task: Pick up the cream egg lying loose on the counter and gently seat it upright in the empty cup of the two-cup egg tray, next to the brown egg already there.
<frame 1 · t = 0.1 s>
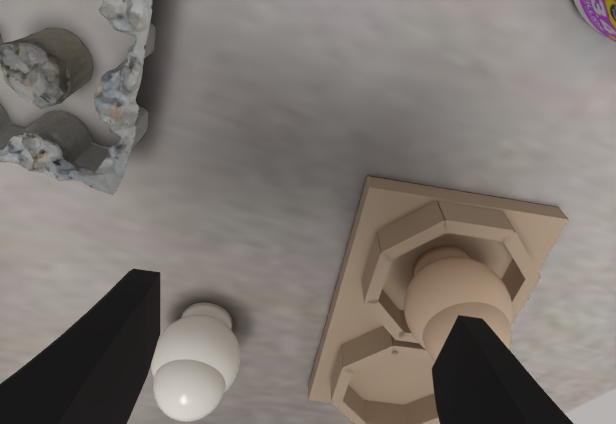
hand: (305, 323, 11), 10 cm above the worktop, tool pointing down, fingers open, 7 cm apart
egg carton: (72, 12, 17), on the worktop
egg tray: (414, 310, 25), on the worktop
cream egg: (207, 321, 25), on the worktop
brown egg: (442, 268, 22), point 1 cm above the worktop, touching egg tray
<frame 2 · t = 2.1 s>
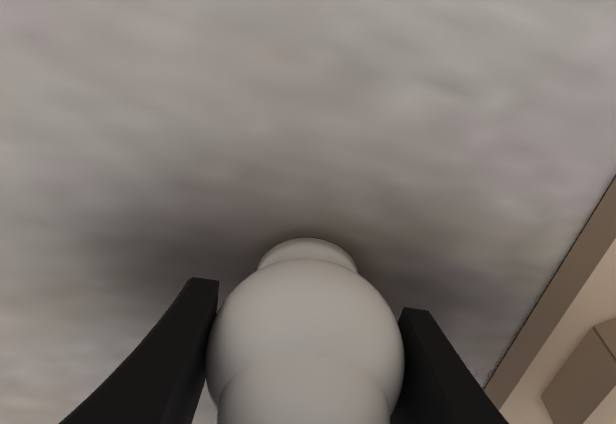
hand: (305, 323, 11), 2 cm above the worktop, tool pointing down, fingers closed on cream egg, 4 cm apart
cream egg: (307, 279, 12), on the worktop, touching gripper
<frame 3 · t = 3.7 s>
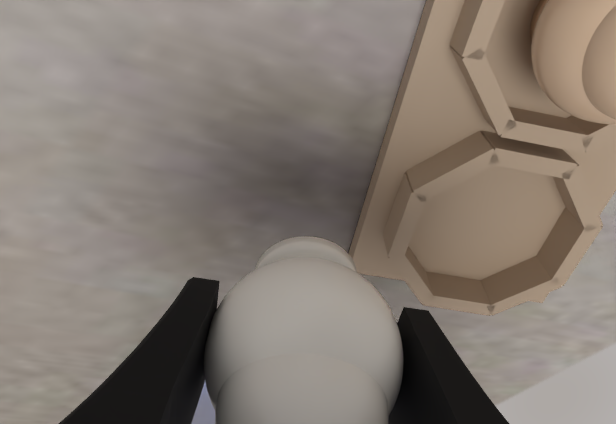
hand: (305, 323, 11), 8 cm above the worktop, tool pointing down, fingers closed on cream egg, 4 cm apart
egg tray: (512, 121, 17), on the worktop
cream egg: (306, 277, 12), point 7 cm above the worktop, touching gripper
brown egg: (576, 20, 14), point 1 cm above the worktop, touching egg tray
when the fingers open (4 cm above the worktop, at t = 5.4 s): cream egg drops 1 cm, resting on egg tray.
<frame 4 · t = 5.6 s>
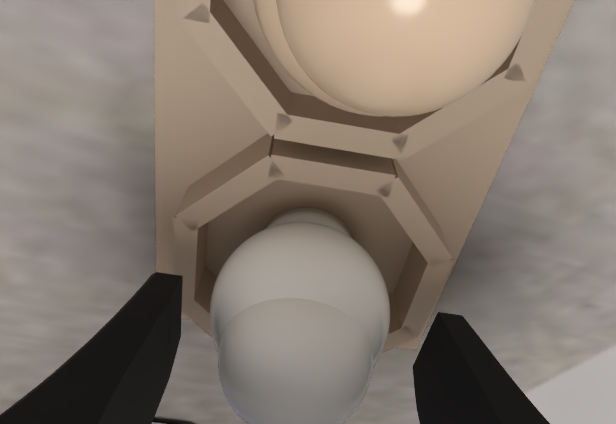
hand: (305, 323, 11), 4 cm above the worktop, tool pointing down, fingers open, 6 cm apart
egg tray: (332, 116, 12), on the worktop
cream egg: (306, 247, 13), point 1 cm above the worktop, touching egg tray
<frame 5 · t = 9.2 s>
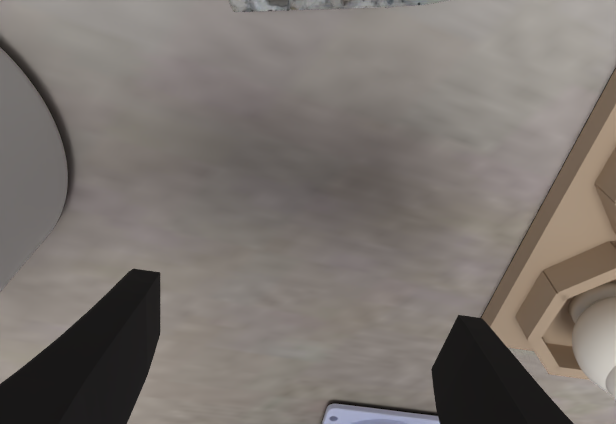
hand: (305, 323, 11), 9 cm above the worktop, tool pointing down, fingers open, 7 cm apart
cream egg: (599, 303, 22), point 1 cm above the worktop, touching egg tray
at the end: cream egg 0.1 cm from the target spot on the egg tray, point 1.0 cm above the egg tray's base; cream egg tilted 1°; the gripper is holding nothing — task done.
